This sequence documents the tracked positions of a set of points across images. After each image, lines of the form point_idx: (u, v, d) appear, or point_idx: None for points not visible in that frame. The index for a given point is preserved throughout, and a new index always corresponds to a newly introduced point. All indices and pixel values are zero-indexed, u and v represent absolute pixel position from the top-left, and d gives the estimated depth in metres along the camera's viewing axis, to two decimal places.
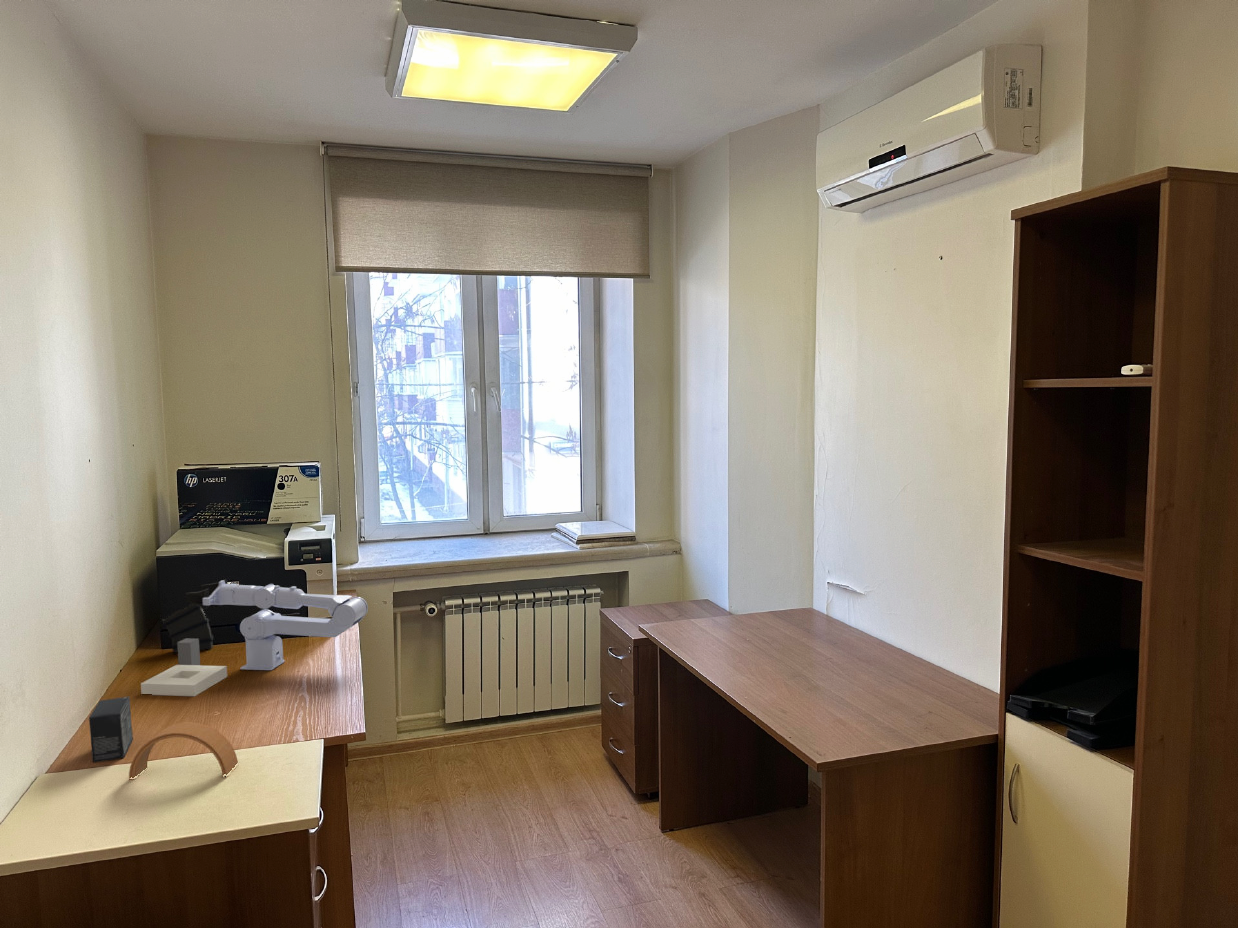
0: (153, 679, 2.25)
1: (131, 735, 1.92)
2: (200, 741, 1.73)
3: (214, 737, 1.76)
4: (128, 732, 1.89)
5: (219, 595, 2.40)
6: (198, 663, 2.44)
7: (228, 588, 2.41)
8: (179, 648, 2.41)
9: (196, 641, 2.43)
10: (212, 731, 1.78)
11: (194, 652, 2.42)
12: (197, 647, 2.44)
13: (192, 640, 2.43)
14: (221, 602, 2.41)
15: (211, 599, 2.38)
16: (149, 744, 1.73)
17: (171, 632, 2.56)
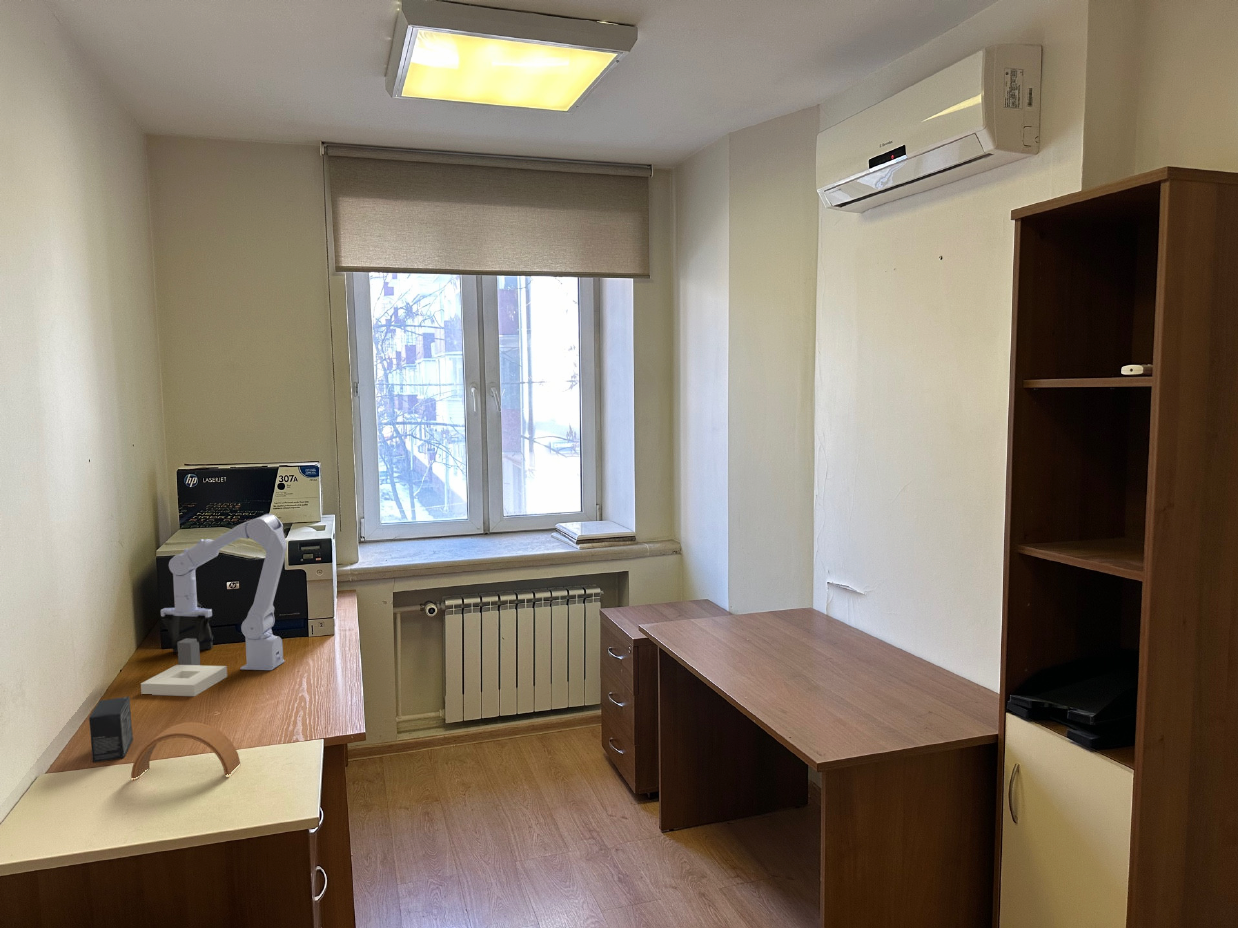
0: (153, 679, 2.25)
1: (131, 735, 1.92)
2: (202, 741, 1.73)
3: (216, 737, 1.76)
4: (128, 732, 1.89)
5: (194, 608, 2.41)
6: (198, 663, 2.44)
7: (186, 602, 2.39)
8: (179, 648, 2.41)
9: (196, 641, 2.43)
10: (214, 731, 1.78)
11: (194, 652, 2.42)
12: (197, 647, 2.44)
13: (192, 640, 2.43)
14: None
15: (204, 610, 2.41)
16: (151, 744, 1.73)
17: None
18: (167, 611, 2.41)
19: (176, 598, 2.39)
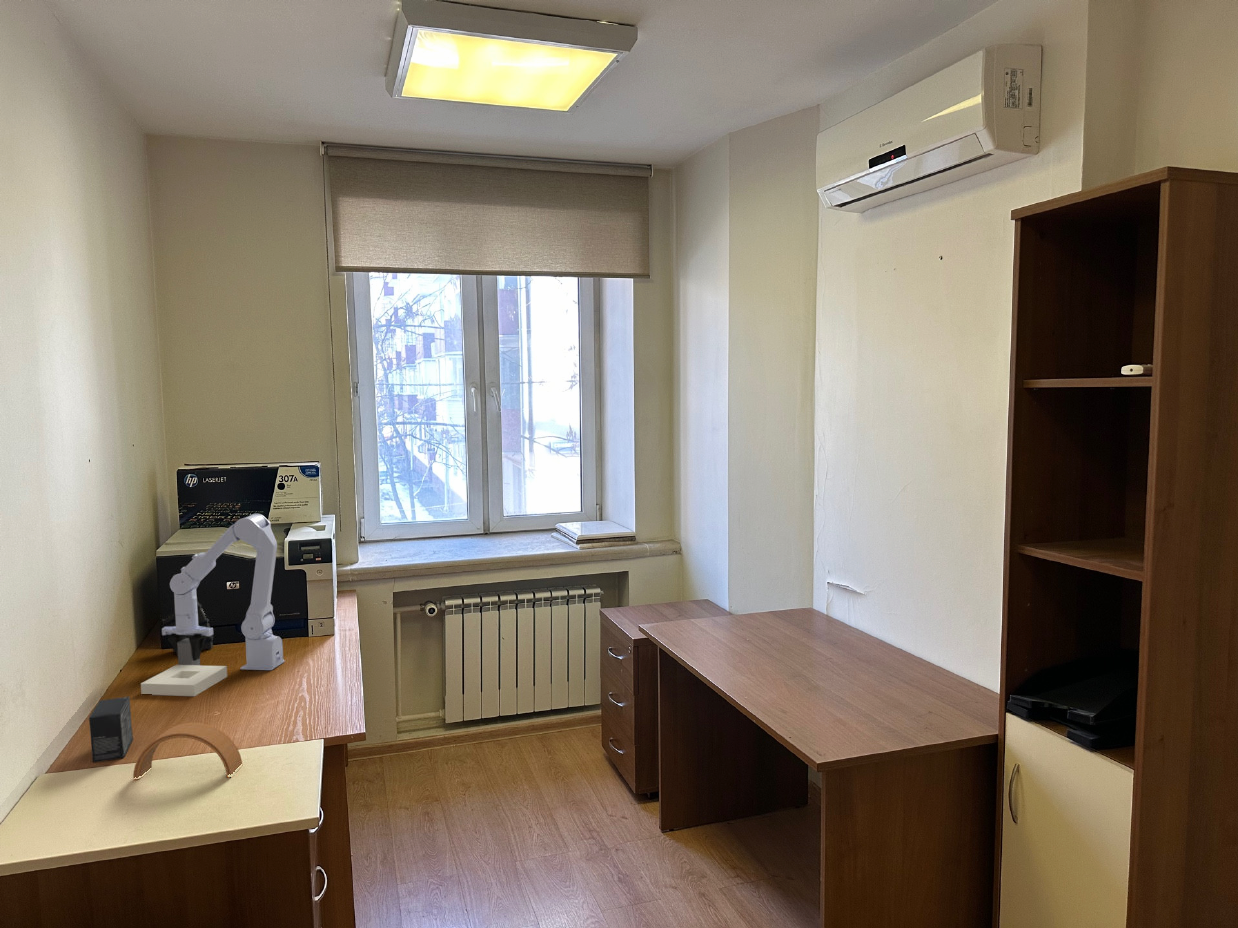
0: (153, 679, 2.25)
1: (131, 735, 1.92)
2: (204, 741, 1.73)
3: (218, 737, 1.76)
4: (128, 732, 1.89)
5: (195, 627, 2.41)
6: (198, 663, 2.44)
7: (187, 621, 2.40)
8: (179, 647, 2.41)
9: None
10: (216, 731, 1.77)
11: None
12: None
13: None
14: None
15: (205, 629, 2.41)
16: (153, 744, 1.73)
17: None
18: (168, 630, 2.41)
19: (177, 617, 2.39)
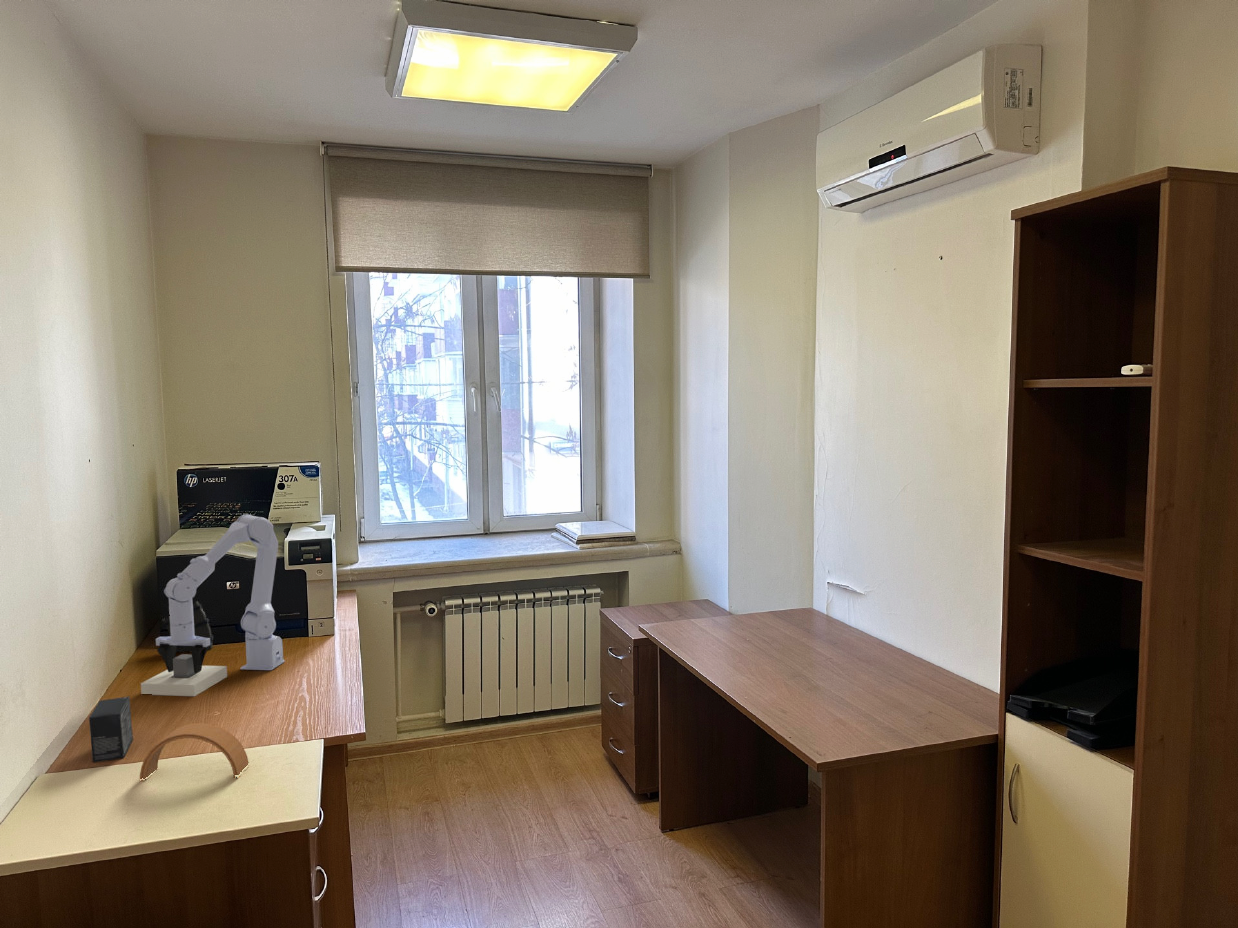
0: (153, 679, 2.25)
1: (131, 735, 1.92)
2: (211, 742, 1.73)
3: (225, 738, 1.76)
4: (128, 732, 1.89)
5: (191, 637, 2.27)
6: None
7: (182, 631, 2.25)
8: (174, 664, 2.26)
9: None
10: (223, 732, 1.77)
11: (190, 669, 2.28)
12: None
13: (188, 656, 2.28)
14: (194, 634, 2.29)
15: (201, 639, 2.27)
16: (160, 745, 1.72)
17: None
18: (162, 640, 2.27)
19: (172, 627, 2.25)
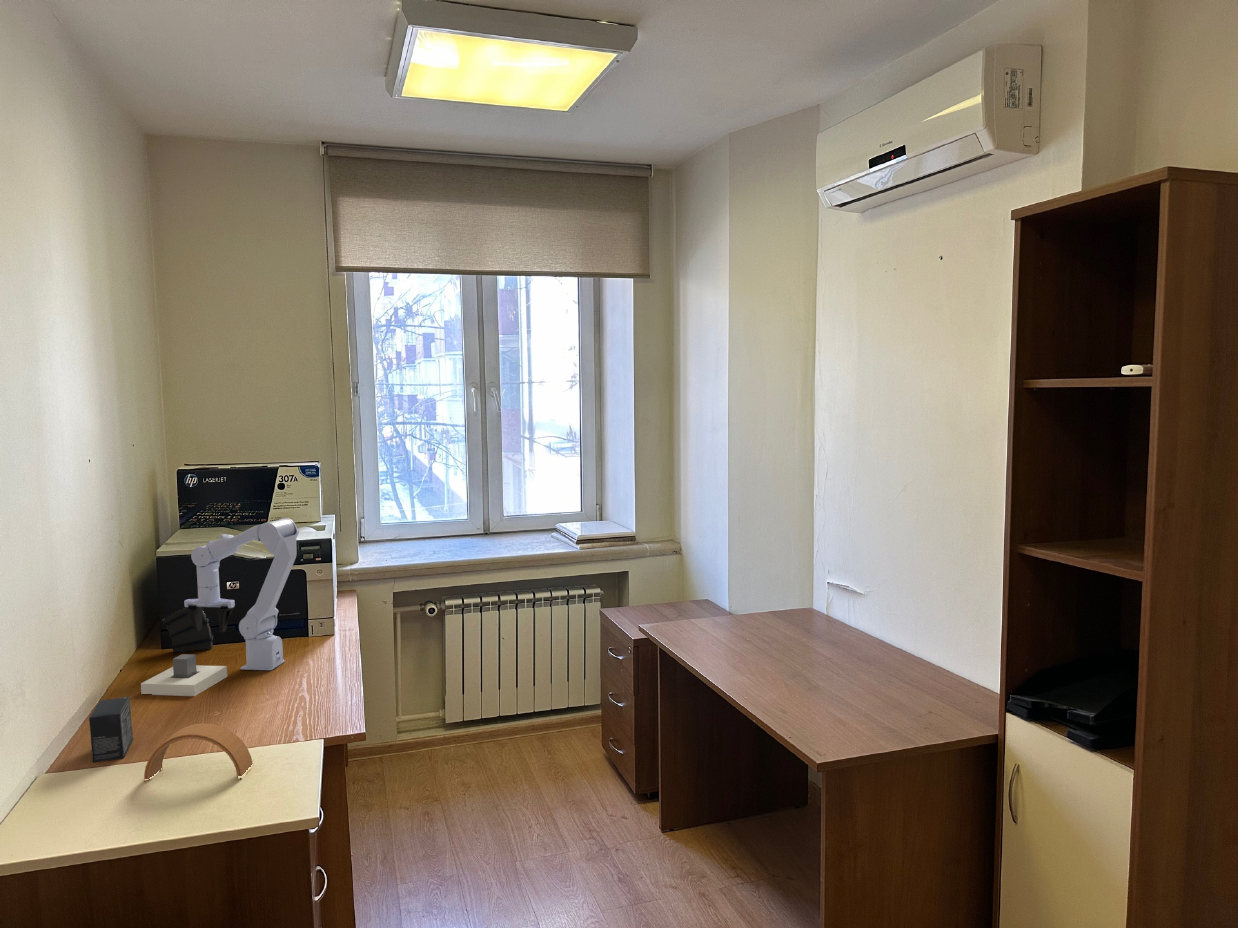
0: (153, 679, 2.25)
1: (131, 735, 1.92)
2: (215, 742, 1.73)
3: (229, 738, 1.76)
4: (128, 732, 1.89)
5: (217, 599, 2.45)
6: None
7: (209, 593, 2.43)
8: (174, 664, 2.26)
9: (193, 657, 2.29)
10: (227, 732, 1.77)
11: (190, 669, 2.28)
12: (194, 664, 2.29)
13: (188, 656, 2.28)
14: (219, 597, 2.48)
15: (227, 601, 2.45)
16: (164, 745, 1.72)
17: (171, 632, 2.56)
18: (191, 602, 2.45)
19: (200, 589, 2.43)
